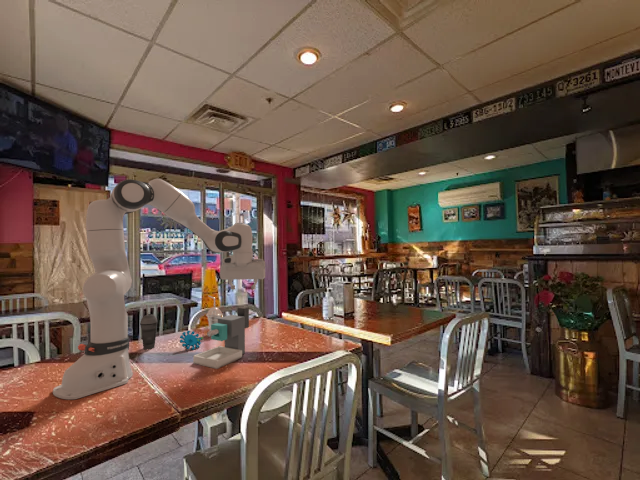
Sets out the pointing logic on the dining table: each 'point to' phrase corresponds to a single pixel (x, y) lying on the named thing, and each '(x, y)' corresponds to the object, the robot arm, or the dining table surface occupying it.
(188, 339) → the teal virus model
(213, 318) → the cup with straw
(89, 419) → the dining table surface
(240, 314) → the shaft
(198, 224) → the robot arm
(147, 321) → the beverage cup
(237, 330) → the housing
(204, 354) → the tray
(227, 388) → the dining table surface
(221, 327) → the spacer
